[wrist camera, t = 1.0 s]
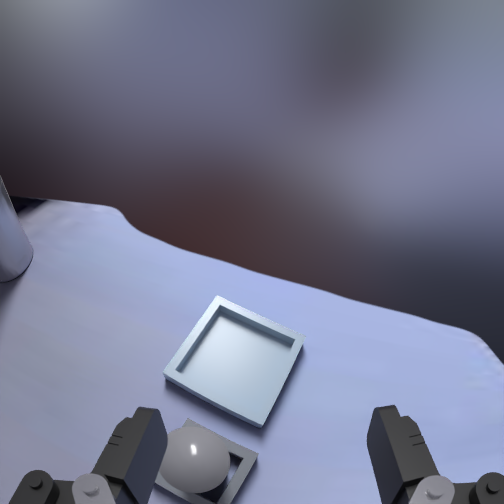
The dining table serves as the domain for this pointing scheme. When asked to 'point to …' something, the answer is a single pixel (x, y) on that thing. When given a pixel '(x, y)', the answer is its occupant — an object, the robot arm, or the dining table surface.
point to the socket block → (247, 461)
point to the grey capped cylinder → (194, 460)
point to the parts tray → (235, 361)
